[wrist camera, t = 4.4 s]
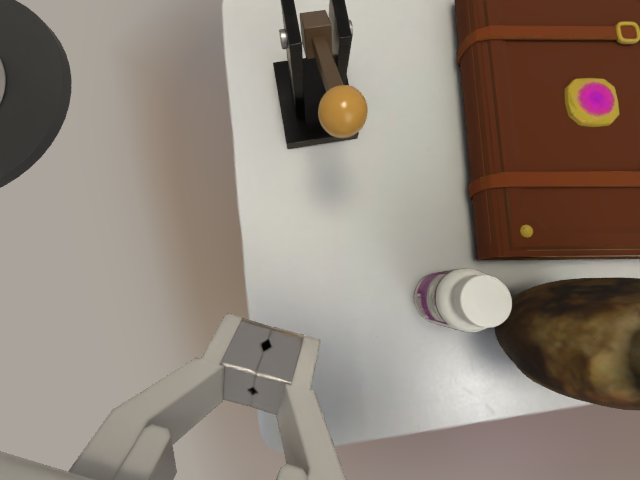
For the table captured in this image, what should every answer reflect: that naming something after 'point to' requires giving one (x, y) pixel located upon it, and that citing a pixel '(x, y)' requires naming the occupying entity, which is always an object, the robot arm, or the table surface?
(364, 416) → the table surface
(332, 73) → the lever
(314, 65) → the black lever stand
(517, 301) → the brown lumpy potato
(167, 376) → the robot arm
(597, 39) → the book
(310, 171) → the table surface
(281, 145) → the table surface
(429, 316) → the pill bottle
